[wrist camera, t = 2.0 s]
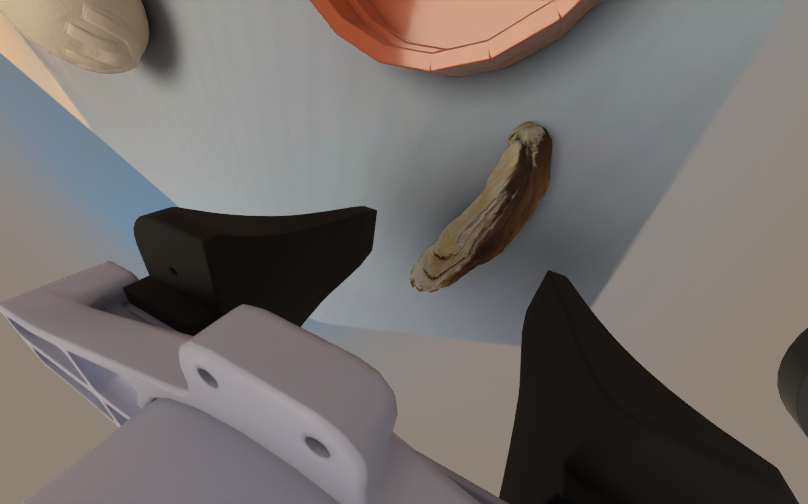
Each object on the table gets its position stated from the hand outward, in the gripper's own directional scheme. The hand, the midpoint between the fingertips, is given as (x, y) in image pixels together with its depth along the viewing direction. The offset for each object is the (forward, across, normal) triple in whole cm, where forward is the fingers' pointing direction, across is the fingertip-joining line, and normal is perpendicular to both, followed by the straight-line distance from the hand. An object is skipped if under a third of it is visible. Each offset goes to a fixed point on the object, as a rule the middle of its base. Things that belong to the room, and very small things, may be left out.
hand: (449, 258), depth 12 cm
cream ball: (+6, +27, -6) cm, 28 cm away
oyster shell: (+6, 0, 0) cm, 6 cm away
